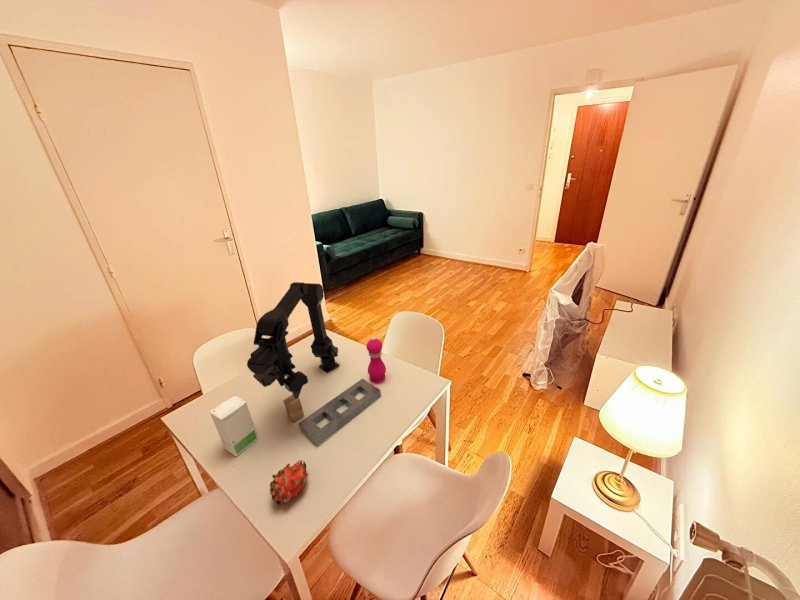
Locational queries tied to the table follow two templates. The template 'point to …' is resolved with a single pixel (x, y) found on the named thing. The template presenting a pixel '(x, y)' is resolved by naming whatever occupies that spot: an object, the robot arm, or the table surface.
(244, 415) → the skincare box
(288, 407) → the walnut peg
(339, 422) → the grey peg hole board
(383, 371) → the pepper mill
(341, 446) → the table surface
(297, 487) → the dragon fruit
